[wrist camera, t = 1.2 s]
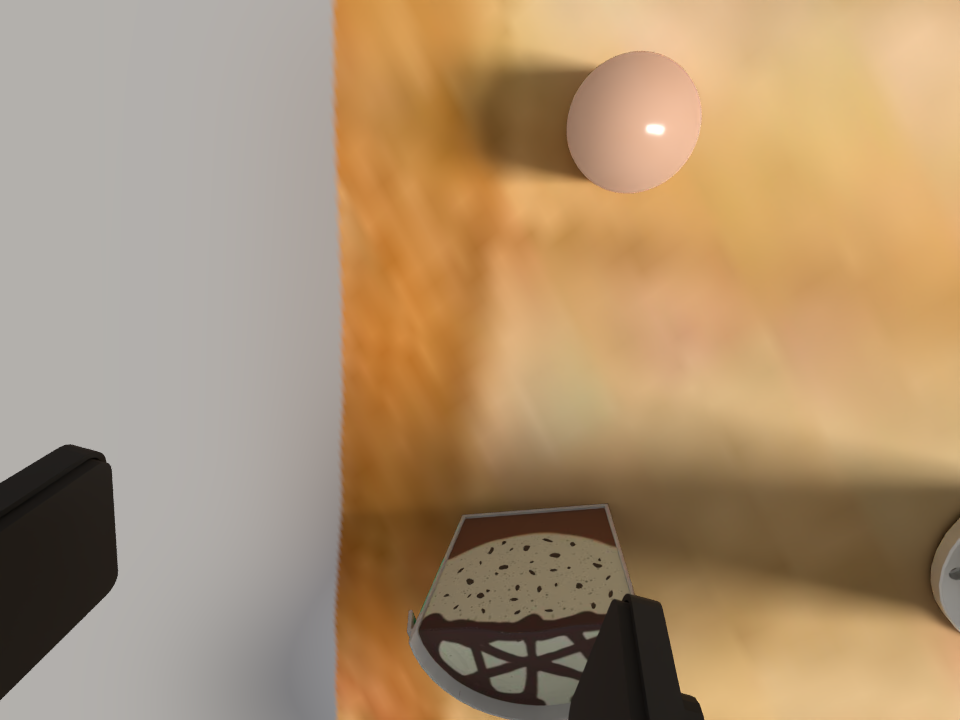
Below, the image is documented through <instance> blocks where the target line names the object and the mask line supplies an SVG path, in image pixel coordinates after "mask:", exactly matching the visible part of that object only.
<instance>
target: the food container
mask: <svg viewBox="0 0 960 720" xmlns="http://www.w3.org/2000/svg"><path fill="white" fill-rule="evenodd" d="M625 594H632V595H635V593H634V590H633V586H632V583H631V580H630V576H629V573H628V570H627V566H626V563H625V560H624V556H623V553H622V550H621V546H620V543H619V540H618V536H617V533H616V530H615V526H614V523H613V520H612V516H611V513H610V510H609V506H608V503H607V504H595V505H582V506H570V507H557V508H544V509H532V510H519V511H507V512H494V513H481V514H469V515H462V517H461V520H460V522H459V524H458V526H457V529H456V531H455V533H454V536H453V538H452V540H451V542H450V545H449V547H448V549H447V552H446V554H445V556H444V559H443V561H442V563H441V565H440V568H439V570H438V572H437V575H436V577H435V579H434V581H433V584H432V586H431V588H430V591H429V593H428V595H427V598H426V600H425V602H424V604H423V607H422V609H421V611H420V614H419V616H418V618H417V620H416V618H415V616H414V613H413V611H412V610H409V616H408V627H407V633H408V635H409V644H410V647H411V649H412V652H413V654H414V656H415V657H416V659H417V661H418V662H419V664H420V665H421V667H422V668H423V670H424V671H425V672H426V673H427V674H428V675H429V677H430V678H431V679H432V680H433V681H434V682H435V683H436V684H438V685H439V686H440V687H441V688H442V689H443V690H444V691H446V692H447V693H449V694H450V695H452V696H453V697H454V698H456V699H457V700H459V701H461V702H463V703H465V704H467V705H469V706H470V707H472V708H475V709H477V710H480V711H482V712H485V713H487V714H490V715H494V716H497V717H501V718H505V719H510V720H568V717H569V709H570V704H571V701H572V698H573V695H574V693H575V690H576V688H577V685H578V683H579V680H580V678H581V675H582V673H583V670H584V668H585V665H586V663H587V660H588V658H589V655H590V653H591V650H592V648H593V645H594V643H595V641H596V638H597V636H598V633H599V631H600V628H601V626H602V623H603V621H604V618H605V616H606V613H607V611H608V608H609V606H610V603H611V601H612V600H613V599H617V600H621V601H622V599H623V597H624V595H625Z"/></svg>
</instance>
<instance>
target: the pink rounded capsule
mask: <svg viewBox="0 0 960 720" xmlns="http://www.w3.org/2000/svg"><path fill="white" fill-rule="evenodd" d="M701 120H702V111H701V102H700V98H699V94H698V91H697V89H696V86H695V84H694V82H693V81H692V79H691V77H690V76H689V74H688V73H687V72H686V71H685V70H684V69H683V68H682V67H681V66H680V65H679V64H678V63H676V62H675V61H673V60H672V59H670V58H668V57H666V56H663V55H661V54H658V53H654V52H646V51H635V52H629V53H624V54H621V55H618V56H615V57H613V58H611V59H609V60H607V61H605V62H604V63H602V64H601V65H599V66H598V67H597V68H596V69H595V70H593V71H592V72H591V73H590V74H589V75H588V76H587V78H586V79H585V80H584V81H583V83H582V84H581V85H580V87H579V88H578V90H577V92H576V94H575V96H574V98H573V101H572V103H571V106H570V110H569V113H568V120H567V143H568V147H569V151H570V153H571V156H572V158H573V160H574V161H575V163H576V165H577V167H578V168H579V169H580V171H581V172H582V173H583V174H584V175H585V176H586V177H587V178H588V179H589V180H590V181H592V182H593V183H594V184H596V185H598V186H599V187H601V188H604V189H606V190H609V191H613V192H618V193H637V192H642V191H646V190H649V189H652V188H654V187H657V186H659V185H660V184H662V183H664V182H666V181H667V180H668V179H670V178H671V177H672V176H673V175H674V174H676V173H677V172H678V171H679V170H680V169H681V167H682V166H683V165H684V164H685V163H686V161H687V160H688V158H689V157H690V155H691V153H692V151H693V149H694V147H695V145H696V142H697V140H698V137H699V132H700V128H701Z"/></svg>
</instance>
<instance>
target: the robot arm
mask: <svg viewBox="0 0 960 720" xmlns="http://www.w3.org/2000/svg"><path fill="white" fill-rule="evenodd" d="M117 576H118V565H117V549H116V533H115V516H114V501H113V484H112V469H111V466H110V465H109V464H108V463H106V459H105V456H104V455H103V454H102V453H100V452H97V451H93V450H90V449H86V448H82V447H78V446H75V445H71V444H70V445H64V446H62V447H59V448H58V449H56V450H54V451H53V452H51V453H49V454H48V455H46V456H44V457H43V458H41V459H40V460H38V461H36V462H34V463H33V464H31V465H30V466H28V467H26V468H25V469H23V470H22V471H19V472H18V473H16V474H15V475H13V476H11V477H10V478H8V479H6V480H5V481H3V482H1V483H0V700H1V699H2V698H3V697H4V696H5V695H6V694H7V693H8V692H9V691H10V690H11V689H12V688H13V687H14V686H15V685H16V684H17V683H18V682H19V681H20V680H21V679H22V678H23V677H24V676H25V675H26V674H27V673H28V672H29V671H30V670H31V669H32V668H33V667H34V666H35V665H36V664H37V663H38V662H39V661H40V660H41V659H42V658H43V657H44V656H45V655H46V654H47V653H48V652H49V651H50V650H51V649H52V648H53V647H54V646H55V645H56V644H57V643H59V641H60V640H62V638H64V637H65V636H66V635H67V634H68V633H69V632H70V630H72V628H74V627H75V626H76V625H77V623H79V622H80V621H81V620H82V619H83V618H84V617H85V616H86V615H87V614H88V613H89V612H90V611H91V610H92V609H93V608H94V607H95V606H96V605H97V604H98V603H99V602H100V601H101V600H102V599H103V598H104V597H105V596H106V595H107V594H108V593H109V591H110V590H111V589H112V587H113V586H114V584H115V582H116V579H117ZM931 586H932V591H933V595H934V598H935V600H936V602H937V604H938V605H939V607H940V609H941V611H942V612H943V614H944V615H945V616H946V617H947V618H948V619H949V621H950V622H951V623H952V624H953V626H954V627H955V628H956V629H957V630H958V631H959V632H960V518H959V519H958V520H957V522H956V523H955V524H954V525H953V526H952V527H951V528H950V529H949V531H948V532H947V533H946V534H945V536H944V538H943V539H942V541H941V543H940V545H939V546H938V548H937V550H936V553H935V556H934V559H933V563H932V566H931ZM568 720H704V716H703V713H702V710H701V707H700V704H699V703H698V701H697V700H696V698H695V697H693V696H690V695H687V694H683V693H681V692H680V687H679V683H678V678H677V673H676V669H675V664H674V659H673V655H672V650H671V645H670V641H669V636H668V632H667V627H666V622H665V618H664V613H663V609H662V606H661V604H660V603H659V602H658V601H654V600H651V599H647V598H643V597H640V596H636V595H632V594H625V595H624V597H623V599H622V601H621V600H617V599H613V600H612V601H611V603H610V606H609V608H608V611H607V613H606V616H605V618H604V621H603V623H602V626H601V628H600V631H599V633H598V636H597V638H596V641H595V643H594V645H593V648H592V650H591V653H590V655H589V658H588V660H587V663H586V665H585V668H584V670H583V673H582V675H581V678H580V680H579V683H578V685H577V688H576V690H575V693H574V695H573V698H572V701H571V704H570V709H569V717H568Z"/></svg>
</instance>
